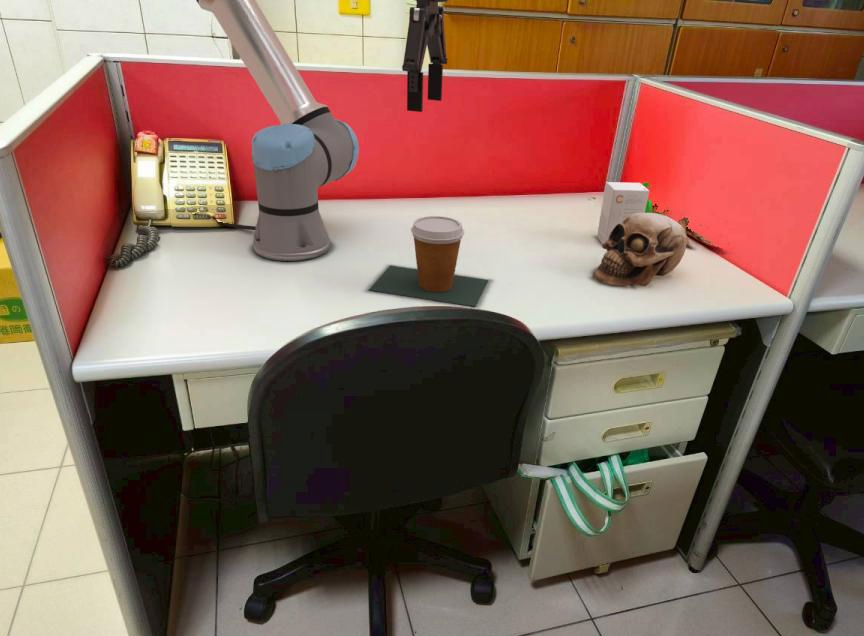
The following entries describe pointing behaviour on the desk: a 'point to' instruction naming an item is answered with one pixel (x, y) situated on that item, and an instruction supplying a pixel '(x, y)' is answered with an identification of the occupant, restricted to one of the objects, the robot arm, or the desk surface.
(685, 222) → the brown jagged long piece
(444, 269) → the disposable coffee cup
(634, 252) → the beige brown skull
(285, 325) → the desk surface
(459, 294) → the desk mat
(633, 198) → the small box
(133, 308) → the desk surface
